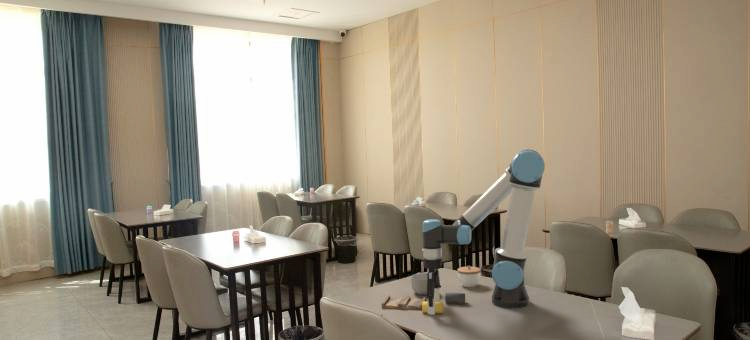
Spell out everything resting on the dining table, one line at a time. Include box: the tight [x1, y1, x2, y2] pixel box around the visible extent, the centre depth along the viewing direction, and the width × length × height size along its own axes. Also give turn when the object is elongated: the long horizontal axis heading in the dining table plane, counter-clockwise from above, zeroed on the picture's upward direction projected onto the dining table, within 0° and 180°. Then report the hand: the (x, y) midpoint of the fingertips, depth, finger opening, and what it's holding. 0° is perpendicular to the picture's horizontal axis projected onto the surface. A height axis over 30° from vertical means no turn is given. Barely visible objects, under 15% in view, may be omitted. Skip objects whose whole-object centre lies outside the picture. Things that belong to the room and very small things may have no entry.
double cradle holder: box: [381, 295, 427, 311], centre depth 224 cm, size 17×11×2 cm, turn 75°
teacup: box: [410, 272, 428, 296], centre depth 241 cm, size 14×11×8 cm
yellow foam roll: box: [422, 301, 445, 315], centre depth 212 cm, size 8×4×4 cm
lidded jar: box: [457, 265, 482, 288], centre depth 249 cm, size 11×11×9 cm
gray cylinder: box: [444, 292, 466, 305], centre depth 223 cm, size 8×4×4 cm, turn 75°
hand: (434, 308), depth 217 cm, fingers open, 13 cm apart
